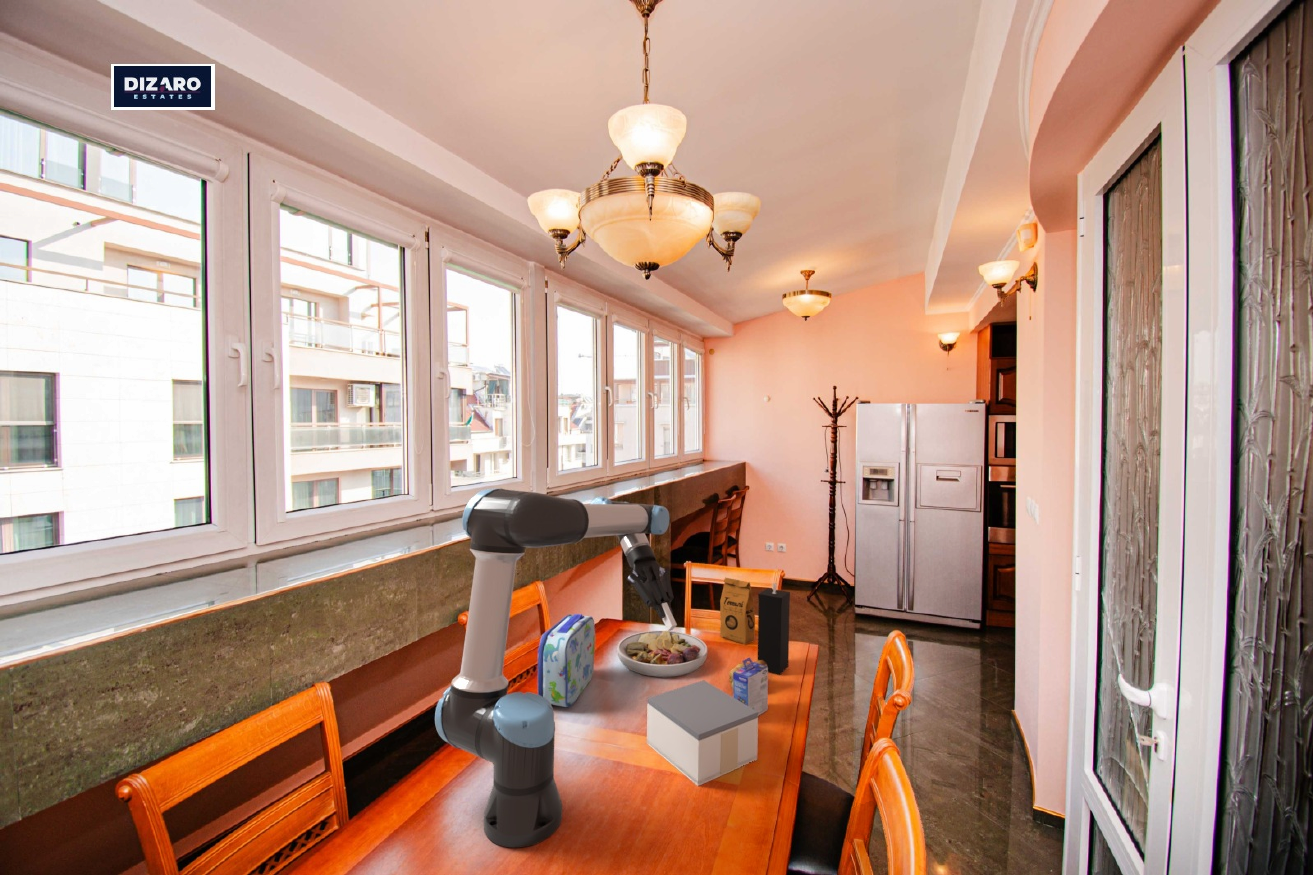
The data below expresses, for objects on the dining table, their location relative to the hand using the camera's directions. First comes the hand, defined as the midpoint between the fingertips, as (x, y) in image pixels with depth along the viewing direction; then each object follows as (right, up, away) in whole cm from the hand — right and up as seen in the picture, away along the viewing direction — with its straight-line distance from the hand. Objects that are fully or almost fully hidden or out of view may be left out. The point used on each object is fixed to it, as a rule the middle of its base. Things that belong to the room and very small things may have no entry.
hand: (672, 628), depth 148 cm
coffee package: (+26, -25, +64) cm, 73 cm away
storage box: (+7, -27, -9) cm, 29 cm away
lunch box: (-30, -26, +21) cm, 45 cm away
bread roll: (+23, -26, +25) cm, 43 cm away
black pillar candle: (+34, -26, +39) cm, 58 cm away
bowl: (-2, -26, +44) cm, 51 cm away
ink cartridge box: (+22, -27, +10) cm, 36 cm away
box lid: (+7, -17, -10) cm, 20 cm away
